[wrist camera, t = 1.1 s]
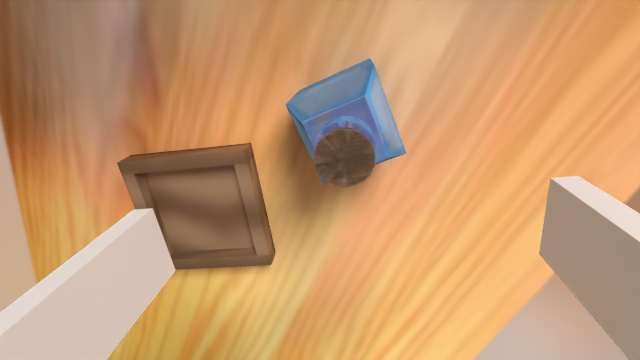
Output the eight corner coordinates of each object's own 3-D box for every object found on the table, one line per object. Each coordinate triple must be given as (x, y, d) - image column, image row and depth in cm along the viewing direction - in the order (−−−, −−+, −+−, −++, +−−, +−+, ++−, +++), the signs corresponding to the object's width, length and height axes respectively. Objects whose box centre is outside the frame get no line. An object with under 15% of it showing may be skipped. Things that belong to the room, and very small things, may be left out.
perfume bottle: (329, 155, 29) (314, 226, 19) (299, 90, 27) (263, 126, 16) (395, 129, 28) (422, 189, 17) (369, 58, 26) (381, 75, 15)
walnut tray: (130, 155, 31) (117, 162, 30) (250, 143, 30) (244, 150, 28) (169, 258, 36) (160, 269, 34) (275, 252, 34) (271, 264, 32)
